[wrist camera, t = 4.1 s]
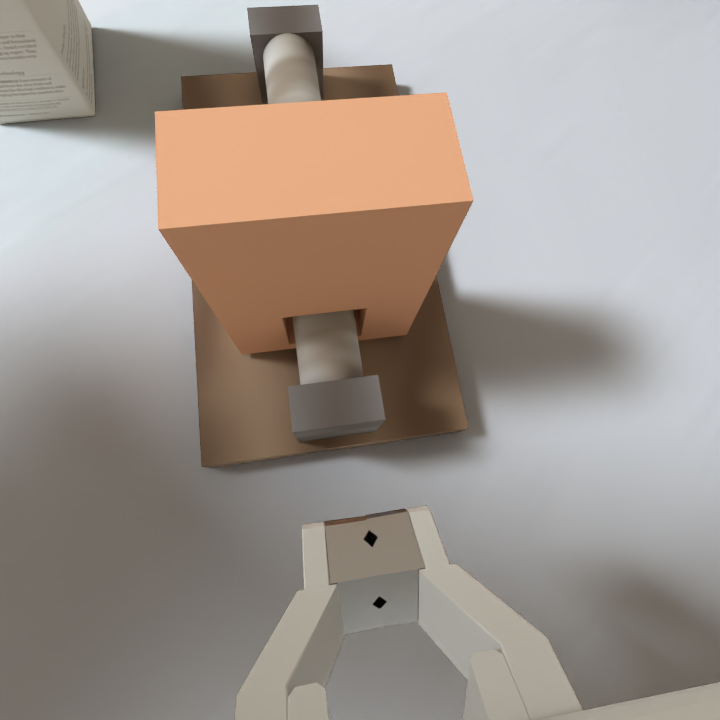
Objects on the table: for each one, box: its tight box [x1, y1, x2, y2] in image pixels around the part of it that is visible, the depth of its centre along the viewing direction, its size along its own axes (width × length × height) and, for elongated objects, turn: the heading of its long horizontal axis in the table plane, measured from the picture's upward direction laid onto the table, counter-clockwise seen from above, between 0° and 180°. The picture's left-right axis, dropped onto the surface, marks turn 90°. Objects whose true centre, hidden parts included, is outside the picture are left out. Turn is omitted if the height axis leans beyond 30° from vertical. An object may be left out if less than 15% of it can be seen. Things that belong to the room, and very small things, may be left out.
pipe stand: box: [181, 5, 468, 468], centre depth 25 cm, size 14×25×6 cm, turn 8°
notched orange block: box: [155, 93, 473, 355], centre depth 19 cm, size 9×4×12 cm, turn 98°
